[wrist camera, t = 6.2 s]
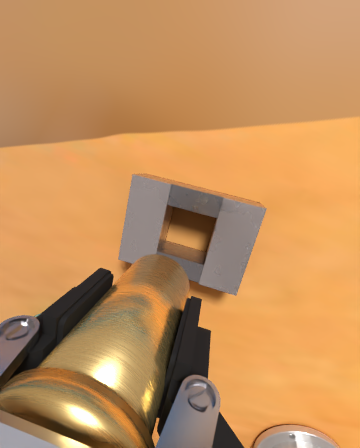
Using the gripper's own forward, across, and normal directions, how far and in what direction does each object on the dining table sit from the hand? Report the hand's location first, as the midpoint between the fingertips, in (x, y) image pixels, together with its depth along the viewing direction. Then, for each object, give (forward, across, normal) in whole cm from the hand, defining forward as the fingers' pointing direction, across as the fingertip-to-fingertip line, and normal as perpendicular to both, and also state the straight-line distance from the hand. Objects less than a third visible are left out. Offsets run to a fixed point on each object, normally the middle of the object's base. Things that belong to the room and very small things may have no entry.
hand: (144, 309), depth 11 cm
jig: (+17, 0, 0) cm, 17 cm away
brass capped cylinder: (+2, 0, 0) cm, 2 cm away
